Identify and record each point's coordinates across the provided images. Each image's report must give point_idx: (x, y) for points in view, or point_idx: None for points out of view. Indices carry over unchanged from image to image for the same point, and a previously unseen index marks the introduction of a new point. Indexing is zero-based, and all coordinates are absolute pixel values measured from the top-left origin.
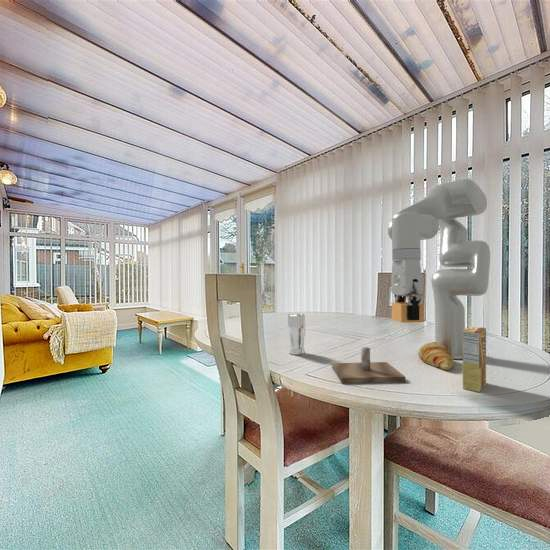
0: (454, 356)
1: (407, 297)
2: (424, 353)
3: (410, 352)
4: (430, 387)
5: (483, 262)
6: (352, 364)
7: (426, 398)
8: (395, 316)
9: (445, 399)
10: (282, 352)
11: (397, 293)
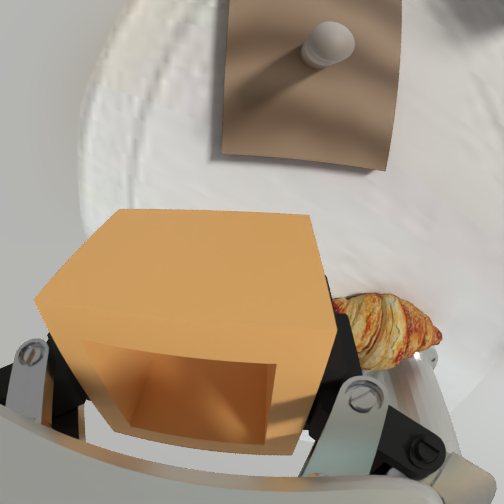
0: None
1: (32, 411)
2: (380, 311)
3: (458, 303)
4: (179, 199)
5: None
6: (381, 37)
7: (112, 153)
8: (218, 226)
9: (109, 193)
10: None
11: (102, 469)
